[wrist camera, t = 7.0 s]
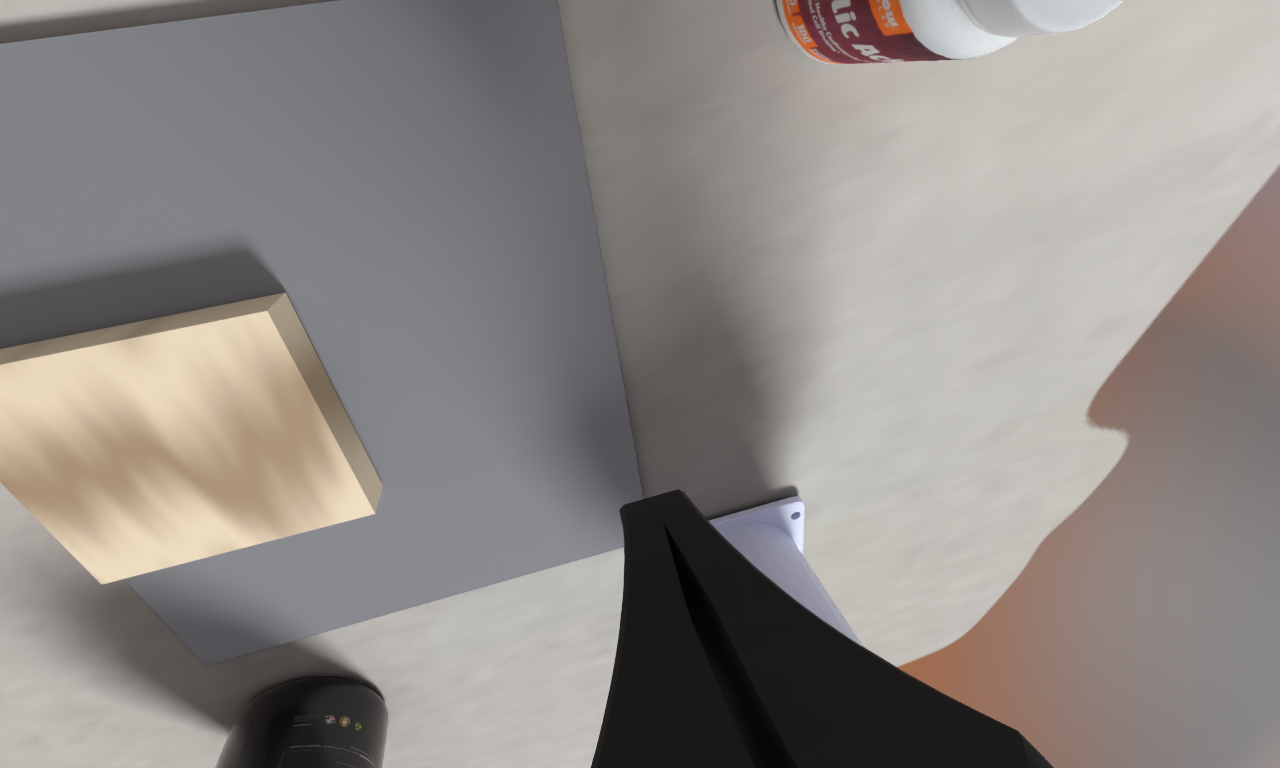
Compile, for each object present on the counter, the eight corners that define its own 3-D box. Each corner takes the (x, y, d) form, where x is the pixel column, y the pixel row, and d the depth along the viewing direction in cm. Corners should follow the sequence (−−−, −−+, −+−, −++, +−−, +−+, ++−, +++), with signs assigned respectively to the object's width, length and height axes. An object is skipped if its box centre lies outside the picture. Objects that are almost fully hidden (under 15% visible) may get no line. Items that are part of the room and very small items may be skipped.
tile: (375, 514, 19) (101, 584, 18) (383, 483, 21) (131, 546, 20) (266, 310, 15) (-96, 384, 14) (286, 290, 17) (-40, 355, 15)
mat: (648, 533, 26) (650, 539, 26) (209, 657, 23) (205, 666, 23) (550, -25, 15) (551, -28, 15) (-320, 88, 12) (-343, 88, 12)
